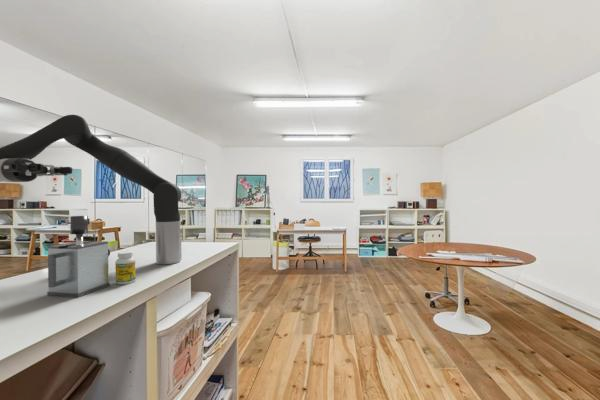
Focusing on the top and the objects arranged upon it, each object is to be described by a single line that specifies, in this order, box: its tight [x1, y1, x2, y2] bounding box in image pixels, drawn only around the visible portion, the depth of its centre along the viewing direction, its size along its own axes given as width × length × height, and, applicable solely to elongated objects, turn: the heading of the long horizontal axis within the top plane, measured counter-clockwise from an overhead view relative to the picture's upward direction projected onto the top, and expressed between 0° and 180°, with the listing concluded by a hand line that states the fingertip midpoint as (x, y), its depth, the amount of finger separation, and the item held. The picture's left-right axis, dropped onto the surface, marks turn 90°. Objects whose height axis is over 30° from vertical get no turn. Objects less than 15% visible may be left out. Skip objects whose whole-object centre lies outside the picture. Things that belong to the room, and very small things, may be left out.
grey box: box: [46, 240, 111, 298], centre depth 78 cm, size 13×10×14 cm
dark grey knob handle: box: [69, 215, 89, 245], centre depth 79 cm, size 7×7×18 cm
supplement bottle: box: [115, 250, 137, 285], centre depth 87 cm, size 5×5×10 cm
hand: (57, 168), depth 84 cm, fingers open, 8 cm apart
